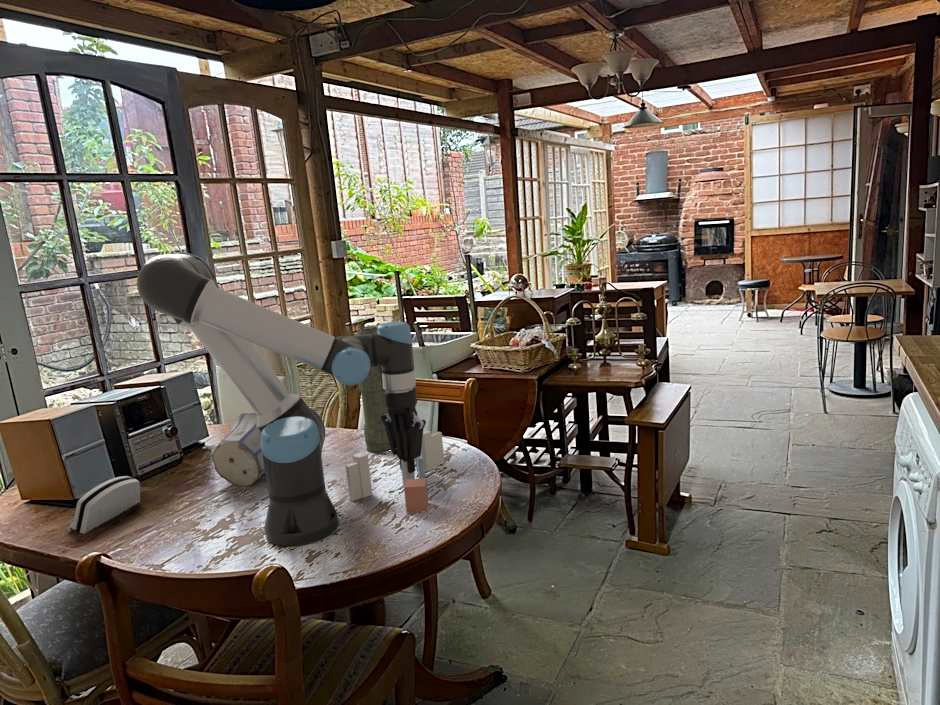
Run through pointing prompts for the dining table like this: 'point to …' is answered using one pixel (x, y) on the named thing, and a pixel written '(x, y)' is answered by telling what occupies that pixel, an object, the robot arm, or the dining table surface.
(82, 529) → the white napkin holder
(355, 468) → the doorframe
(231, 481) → the potted plant
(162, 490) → the dining table surface
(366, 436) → the thermos
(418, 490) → the reddish brown block
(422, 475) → the door
